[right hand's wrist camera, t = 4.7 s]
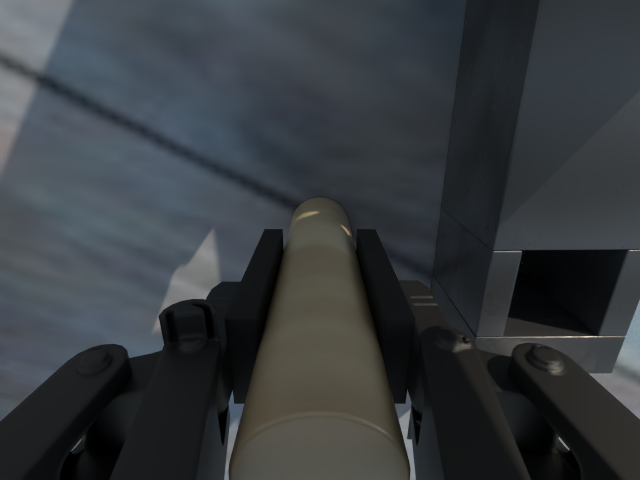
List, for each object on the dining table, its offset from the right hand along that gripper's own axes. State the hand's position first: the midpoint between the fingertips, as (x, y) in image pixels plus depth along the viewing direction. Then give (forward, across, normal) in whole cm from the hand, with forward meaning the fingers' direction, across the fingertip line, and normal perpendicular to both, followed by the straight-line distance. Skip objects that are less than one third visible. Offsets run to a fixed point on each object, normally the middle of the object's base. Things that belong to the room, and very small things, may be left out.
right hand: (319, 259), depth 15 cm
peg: (+5, 0, 0) cm, 5 cm away
